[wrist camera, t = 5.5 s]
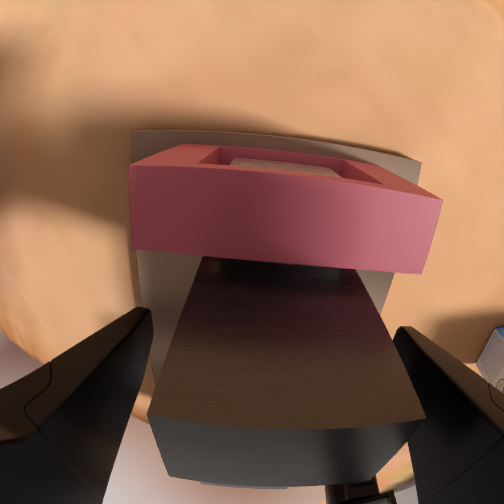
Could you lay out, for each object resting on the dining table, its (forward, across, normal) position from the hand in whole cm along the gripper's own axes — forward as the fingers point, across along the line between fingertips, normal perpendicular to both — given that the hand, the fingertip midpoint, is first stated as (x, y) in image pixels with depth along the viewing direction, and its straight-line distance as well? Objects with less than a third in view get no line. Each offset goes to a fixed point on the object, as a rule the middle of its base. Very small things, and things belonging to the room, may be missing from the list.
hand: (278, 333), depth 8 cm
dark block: (+6, 0, +3) cm, 7 cm away
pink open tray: (+7, 0, -3) cm, 8 cm away
